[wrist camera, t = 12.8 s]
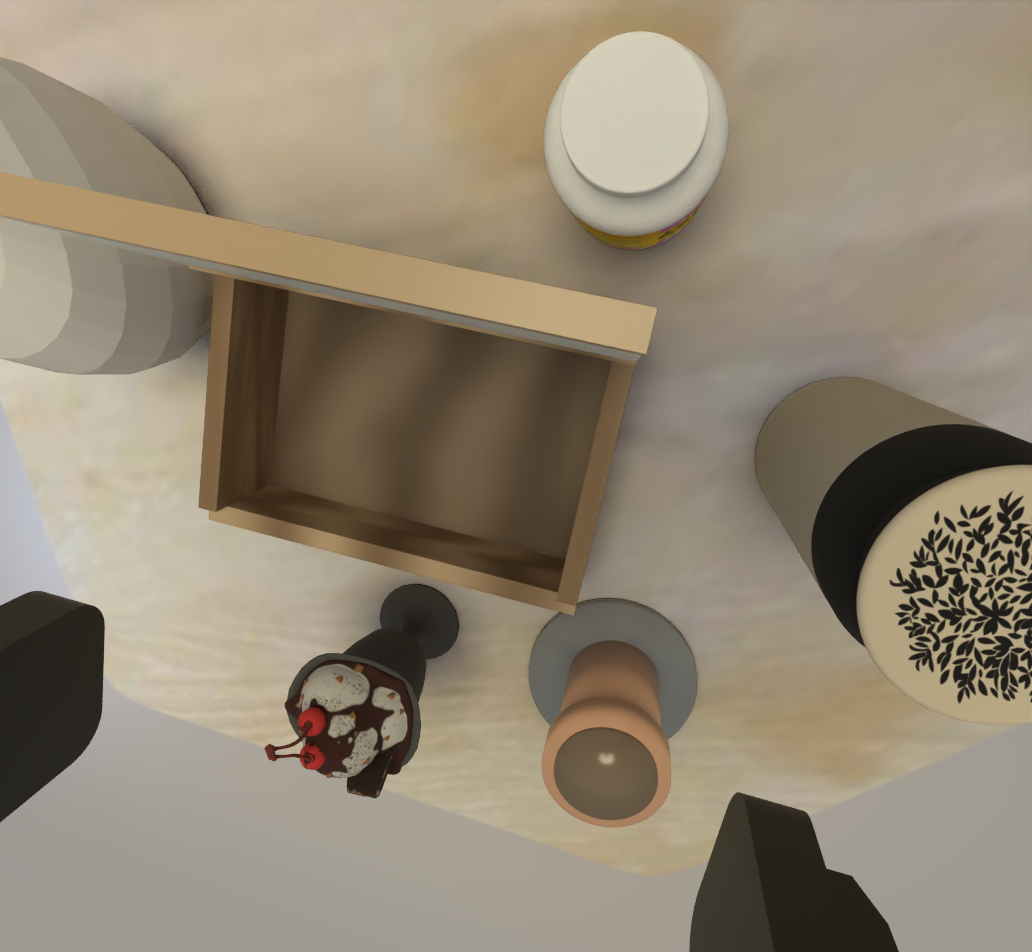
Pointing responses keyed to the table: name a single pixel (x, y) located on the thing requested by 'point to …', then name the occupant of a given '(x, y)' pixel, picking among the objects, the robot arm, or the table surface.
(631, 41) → the supplement bottle
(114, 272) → the soap bottle
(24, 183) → the frame lid
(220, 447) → the box
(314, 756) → the sundae
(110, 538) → the table surface
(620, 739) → the clay pot
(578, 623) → the slate saucer
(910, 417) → the travel mug
